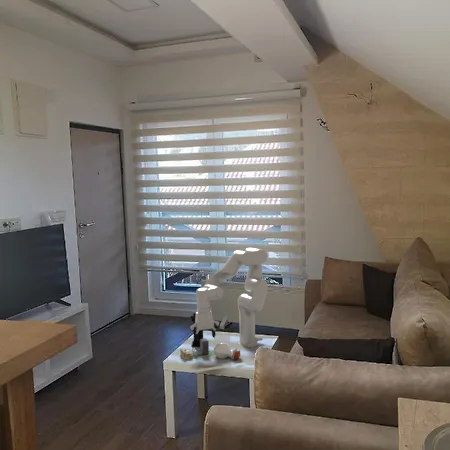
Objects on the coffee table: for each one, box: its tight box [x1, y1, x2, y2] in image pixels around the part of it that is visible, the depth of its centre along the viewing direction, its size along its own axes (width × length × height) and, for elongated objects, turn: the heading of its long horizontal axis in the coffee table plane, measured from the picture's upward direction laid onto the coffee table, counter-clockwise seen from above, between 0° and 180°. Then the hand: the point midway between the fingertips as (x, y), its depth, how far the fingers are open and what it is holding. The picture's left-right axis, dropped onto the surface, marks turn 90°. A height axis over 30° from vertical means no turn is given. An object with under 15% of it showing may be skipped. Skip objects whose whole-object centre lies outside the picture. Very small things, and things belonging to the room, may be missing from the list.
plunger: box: [191, 337, 210, 356], centre depth 272 cm, size 8×5×8 cm, turn 110°
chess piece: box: [190, 312, 204, 348], centre depth 288 cm, size 8×8×20 cm
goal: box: [179, 347, 194, 361], centre depth 269 cm, size 5×8×4 cm, turn 20°
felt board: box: [179, 349, 215, 361], centre depth 272 cm, size 24×8×1 cm, turn 110°
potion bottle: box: [213, 341, 241, 361], centre depth 267 cm, size 9×10×15 cm
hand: (205, 338), depth 273 cm, fingers open, 9 cm apart
